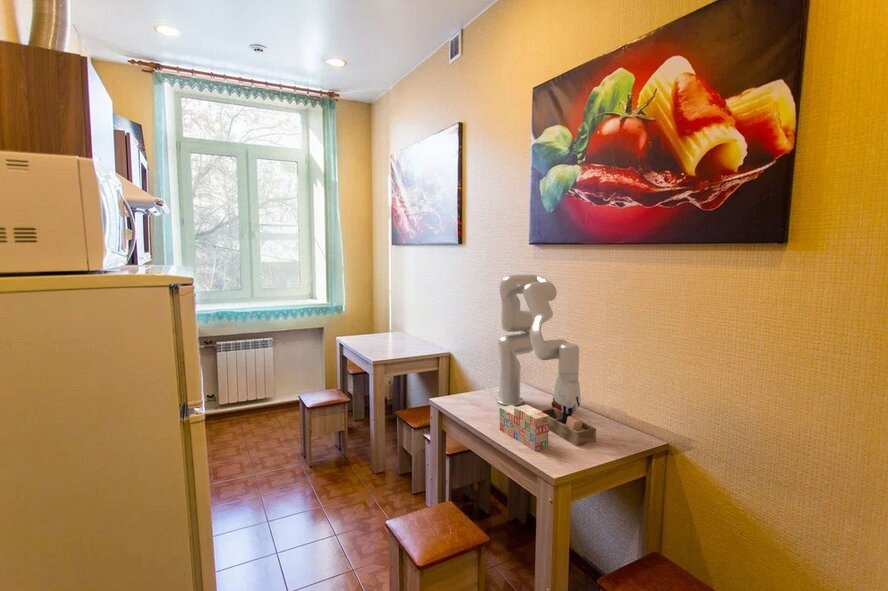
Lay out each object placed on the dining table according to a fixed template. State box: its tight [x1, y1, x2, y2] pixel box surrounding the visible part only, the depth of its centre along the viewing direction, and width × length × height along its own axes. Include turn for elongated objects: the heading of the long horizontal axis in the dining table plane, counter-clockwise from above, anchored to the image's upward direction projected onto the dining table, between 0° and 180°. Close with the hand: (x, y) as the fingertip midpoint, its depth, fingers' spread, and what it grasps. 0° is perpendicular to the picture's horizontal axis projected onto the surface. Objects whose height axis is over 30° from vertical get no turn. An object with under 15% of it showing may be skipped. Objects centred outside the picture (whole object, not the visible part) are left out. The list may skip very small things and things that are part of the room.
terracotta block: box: [566, 415, 584, 431], centre depth 165 cm, size 4×4×4 cm
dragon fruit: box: [551, 397, 562, 411], centre depth 192 cm, size 8×8×12 cm
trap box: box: [539, 407, 597, 447], centre depth 170 cm, size 24×9×5 cm, turn 25°
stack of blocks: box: [499, 404, 550, 452], centre depth 164 cm, size 21×6×12 cm, turn 29°
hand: (567, 422), depth 169 cm, fingers closed
